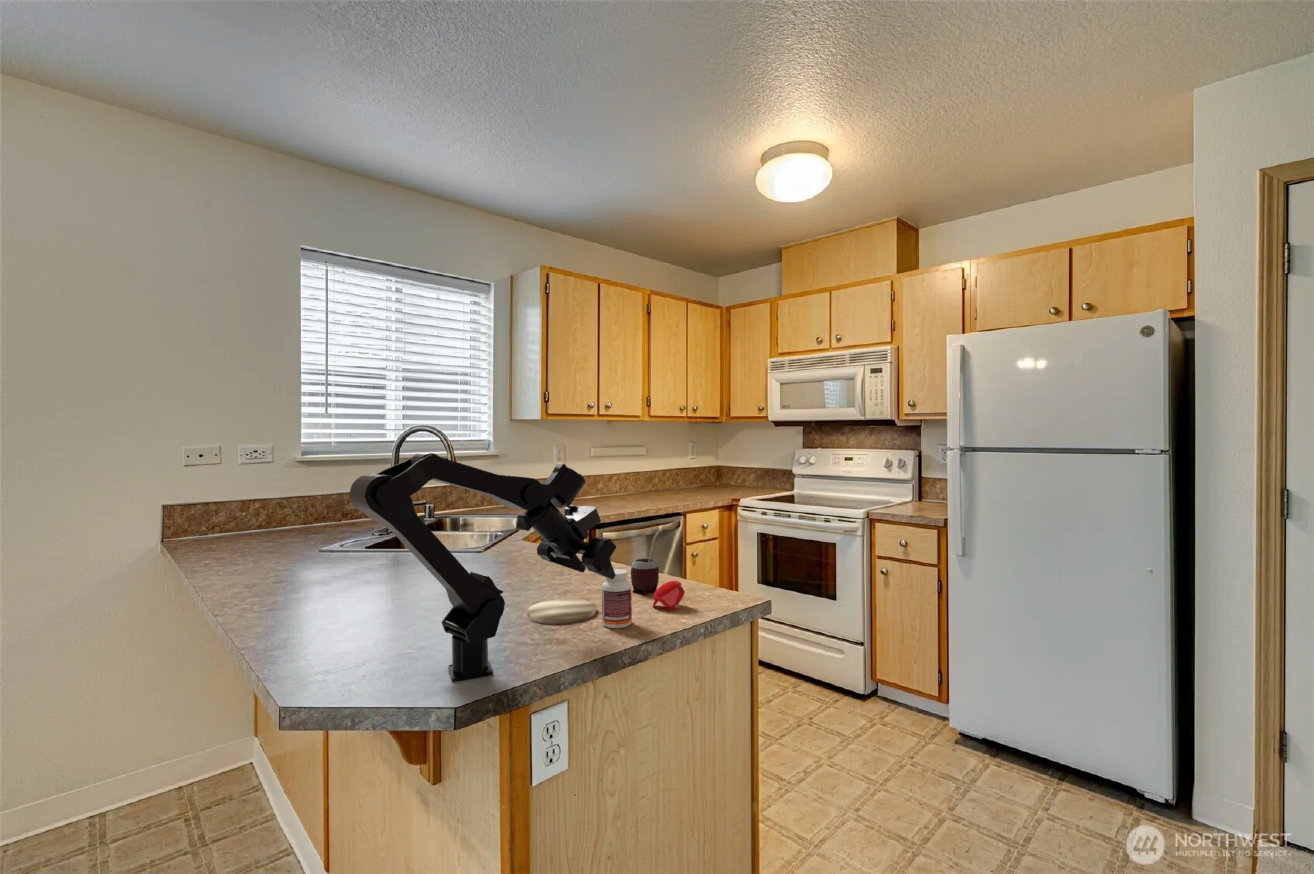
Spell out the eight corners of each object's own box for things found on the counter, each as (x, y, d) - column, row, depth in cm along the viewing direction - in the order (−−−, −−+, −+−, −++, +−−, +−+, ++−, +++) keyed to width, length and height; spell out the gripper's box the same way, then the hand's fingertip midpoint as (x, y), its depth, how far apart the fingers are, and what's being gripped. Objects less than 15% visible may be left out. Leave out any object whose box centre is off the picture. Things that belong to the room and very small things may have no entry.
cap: (689, 589, 138) (668, 575, 139) (688, 587, 132) (666, 572, 134) (670, 619, 136) (649, 604, 138) (668, 618, 130) (646, 602, 132)
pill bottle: (637, 625, 122) (636, 572, 122) (611, 631, 119) (610, 576, 119) (622, 618, 127) (621, 566, 127) (597, 623, 124) (596, 570, 124)
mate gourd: (630, 596, 145) (629, 535, 145) (632, 587, 153) (631, 530, 153) (660, 595, 145) (659, 534, 145) (661, 587, 153) (660, 529, 153)
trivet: (605, 617, 128) (605, 612, 128) (537, 628, 121) (536, 622, 121) (584, 600, 141) (583, 595, 141) (521, 609, 135) (521, 604, 135)
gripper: (607, 496, 109) (650, 546, 117) (547, 491, 122) (590, 537, 130) (574, 545, 103) (622, 594, 111) (515, 534, 116) (562, 579, 124)
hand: (598, 573), depth 119 cm, fingers open, 9 cm apart
